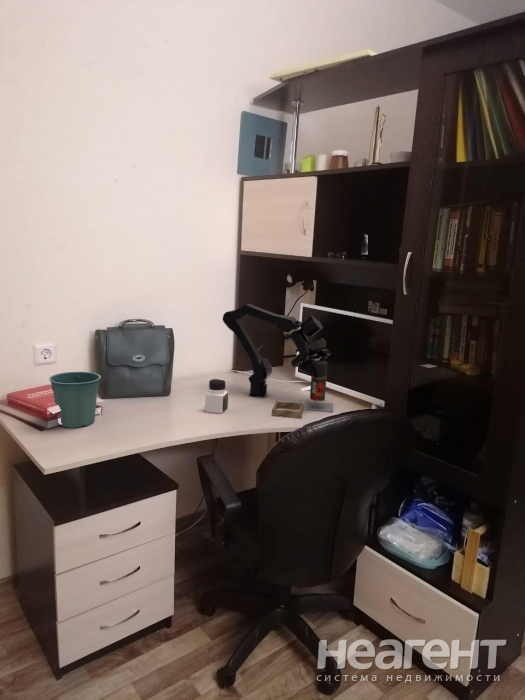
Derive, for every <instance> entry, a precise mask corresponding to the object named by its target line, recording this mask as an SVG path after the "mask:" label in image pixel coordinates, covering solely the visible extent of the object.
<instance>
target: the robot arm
mask: <svg viewBox="0 0 525 700" xmlns="http://www.w3.org/2000/svg"><path fill="white" fill-rule="evenodd" d="M248 315H249V316H252V317H254V318H256V319H259V320H262V321H264V322H267V323H269V324H272V325H273V326H275V327H276V328H277V329H278V330H280V331H282V332H284V333H286V336H285V341H289V342H292V343H293V344H294V346H295V352H296V353H299V354H296V355H295V357H293V358H292V359H291V360H290V364H291V366H292V368H293V369H294V368H298V369H300V370H303V371H305V372H306V373H308V374H309V375H310V376H311V375H312V376H314V377H315V378H317V377H318V376H317V373H316V371H315V369H314V367H313V365H312V362H313V361H315V360H320V361H326V360H327V358H328V357H330V355H331V354H332V353H331V352H330V349H328V348H327V349H326V346H327V341H326V339H325V338H324V337H322V338H321V337H320V338H319V339H317V340H314V341H312V340H309V339H308V337H310V338H313V336H314V335H315V334H317V333H319V332H320V331H321V330H322V329H323V325H322V323H321V322H320V320H318V319H317V318H316V317H314V315H312V314H311V315H310V316H309V317H308V318H306V319H305V320H304V321H300V320H297V319H296V318H295V317H293V316H289V315H285V314H284V315H283V314H276V313H275V312H272V311H270V310H266V309H265V308H264V309H263V308H261V307H259V306H255V305H254V304H251V303H247V304H244V305H243V306H241V307H239V308H237V309H233V310H229V311H226V312H224V313H223V316H222V321H223V323H224V324H225V326H226V327H227V328H228V329H229V330H230V331H231V332H233V333H234V335H235V336H236V338H237V340H238V341H239V343H240V345H241V347H242V349H243V350H244V352H245V354H246V355H247V357H248V359H249V361H250V363H251V369H252V372H253V374H251V375H249V377H248V381H249V384H250V386H249V389H250V390H249V394H248V395H249V397H255V398H257V397H258V398H266V395H267V394H268V384H267V380H268V378H269V377H270V376H271V375H272V373H273V364H271V362H270V361H269V358H268V357H266V358H264V357H262V356H261V355H260V353H259V351H258V349H257V347H256V346H255V344H254V342H253V340H252V339H251V337H250V335H249V334H248V331H247V330H246V328H245V325H244V320H243V318H245V317H247V316H248ZM328 374H329V373H328V371H327V375H328Z"/></svg>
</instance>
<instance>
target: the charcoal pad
mask: <svg viewBox="0 0 525 700" xmlns="http://www.w3.org/2000/svg"><path fill="white" fill-rule="evenodd" d="M306 410H307V411H311V410H312V412H313V411H314V412H321V413H323V412H325V413H334V403H329V402H328V403H327V402H320V401H308V403H307V409H306Z"/></svg>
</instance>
